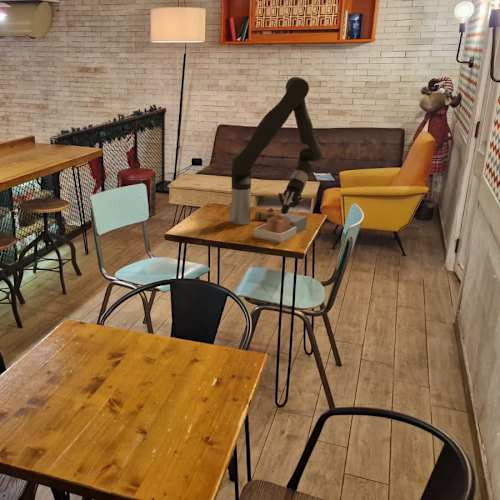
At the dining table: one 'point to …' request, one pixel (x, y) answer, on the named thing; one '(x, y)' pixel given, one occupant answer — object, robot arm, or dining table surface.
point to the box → (274, 234)
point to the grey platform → (296, 221)
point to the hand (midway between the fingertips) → (283, 213)
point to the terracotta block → (278, 224)
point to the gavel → (264, 214)
